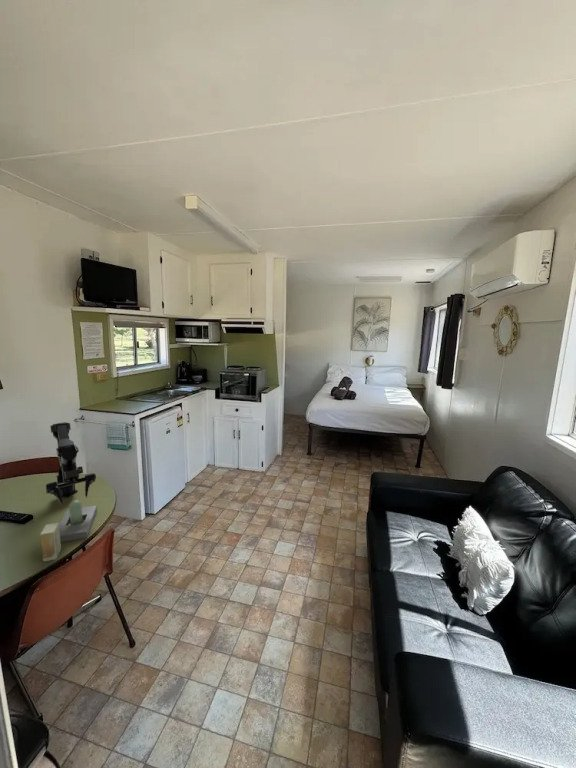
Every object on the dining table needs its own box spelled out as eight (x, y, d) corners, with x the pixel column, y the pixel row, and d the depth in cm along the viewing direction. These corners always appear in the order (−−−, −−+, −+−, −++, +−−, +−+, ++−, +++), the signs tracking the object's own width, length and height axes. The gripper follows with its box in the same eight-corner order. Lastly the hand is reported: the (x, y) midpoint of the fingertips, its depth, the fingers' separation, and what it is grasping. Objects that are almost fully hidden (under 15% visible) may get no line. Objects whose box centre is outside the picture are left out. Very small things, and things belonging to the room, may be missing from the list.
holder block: (67, 515, 145) (67, 509, 144) (97, 511, 149) (96, 505, 148) (53, 543, 126) (52, 537, 126) (87, 537, 131) (86, 531, 130)
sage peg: (73, 522, 139) (71, 498, 137) (84, 521, 140) (82, 497, 138) (68, 528, 135) (66, 504, 133) (80, 527, 136) (78, 503, 134)
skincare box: (48, 550, 122) (45, 523, 120) (61, 548, 124) (59, 521, 122) (42, 562, 116) (39, 534, 114) (56, 560, 118) (53, 532, 116)
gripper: (43, 467, 132) (48, 502, 126) (94, 457, 144) (100, 488, 138) (44, 476, 139) (48, 509, 133) (92, 466, 151) (97, 496, 145)
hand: (74, 500), depth 137 cm, fingers open, 9 cm apart
